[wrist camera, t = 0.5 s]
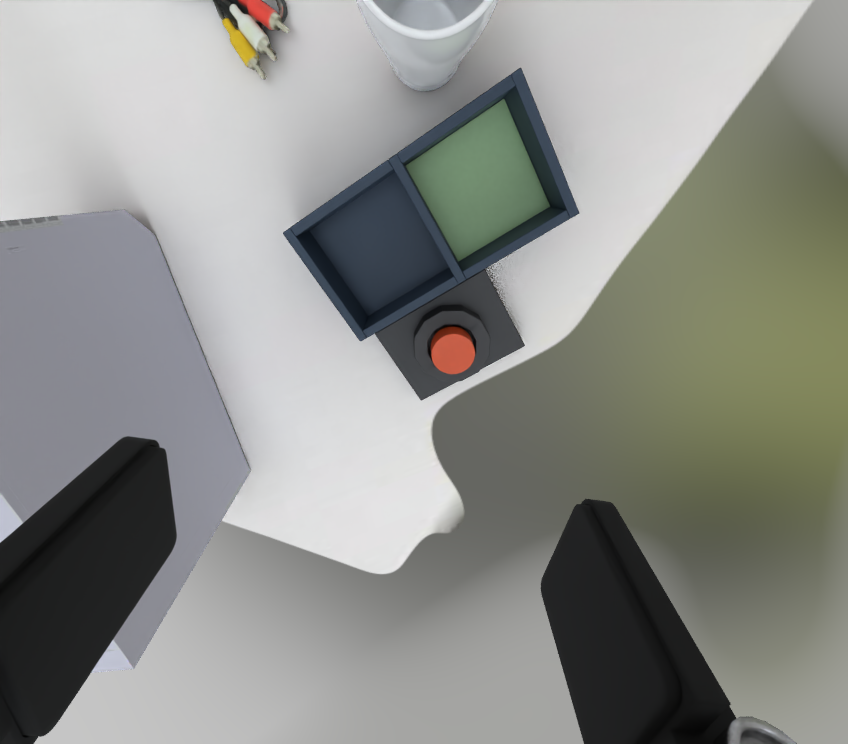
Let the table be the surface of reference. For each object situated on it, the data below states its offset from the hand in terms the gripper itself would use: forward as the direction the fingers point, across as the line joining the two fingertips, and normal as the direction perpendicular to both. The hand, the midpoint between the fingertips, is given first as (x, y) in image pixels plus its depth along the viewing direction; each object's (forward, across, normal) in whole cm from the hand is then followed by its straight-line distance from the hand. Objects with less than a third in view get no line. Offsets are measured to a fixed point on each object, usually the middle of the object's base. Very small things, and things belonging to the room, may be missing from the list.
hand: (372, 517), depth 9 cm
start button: (+25, -5, +5) cm, 26 cm away
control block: (+28, -5, +5) cm, 29 cm away
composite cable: (+29, +15, -16) cm, 36 cm away
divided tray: (+28, -1, -4) cm, 29 cm away
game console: (+28, +21, +13) cm, 37 cm away
